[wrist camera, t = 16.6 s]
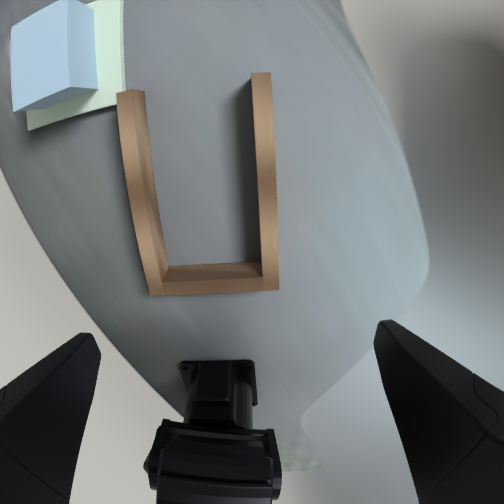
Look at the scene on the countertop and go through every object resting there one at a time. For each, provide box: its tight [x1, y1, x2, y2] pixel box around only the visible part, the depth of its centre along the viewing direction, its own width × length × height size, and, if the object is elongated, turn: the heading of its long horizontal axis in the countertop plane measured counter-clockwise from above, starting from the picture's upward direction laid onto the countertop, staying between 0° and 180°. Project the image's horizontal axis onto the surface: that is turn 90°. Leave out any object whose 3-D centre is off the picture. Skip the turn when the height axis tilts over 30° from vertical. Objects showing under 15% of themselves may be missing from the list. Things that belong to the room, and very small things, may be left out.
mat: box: [26, 0, 126, 131], centre depth 14 cm, size 8×8×1 cm
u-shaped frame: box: [116, 72, 279, 296], centre depth 18 cm, size 13×8×2 cm, turn 3°
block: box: [11, 0, 98, 112], centre depth 12 cm, size 6×4×4 cm
